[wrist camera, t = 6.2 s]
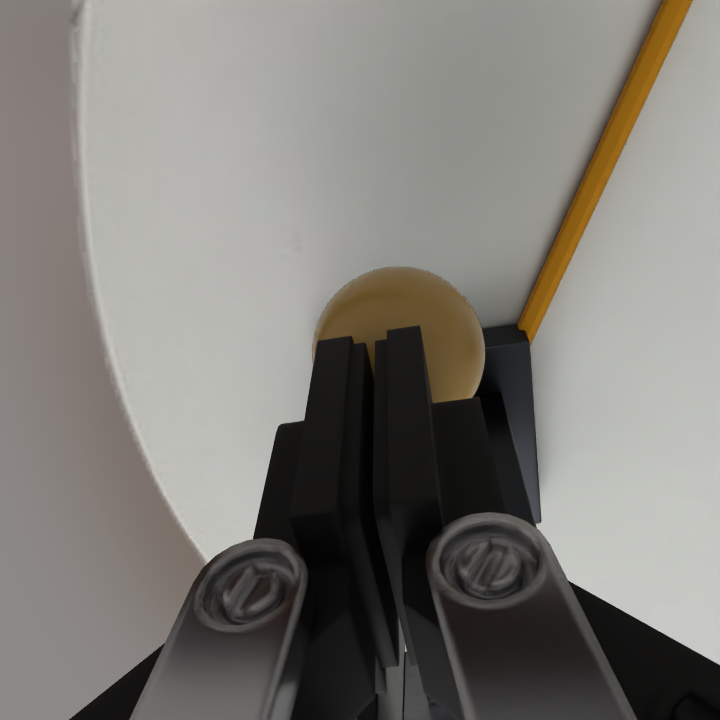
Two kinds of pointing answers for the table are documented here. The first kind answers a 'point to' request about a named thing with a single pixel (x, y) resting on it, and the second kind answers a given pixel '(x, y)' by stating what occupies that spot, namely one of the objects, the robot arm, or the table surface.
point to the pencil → (604, 159)
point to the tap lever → (443, 358)
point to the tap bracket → (511, 457)
